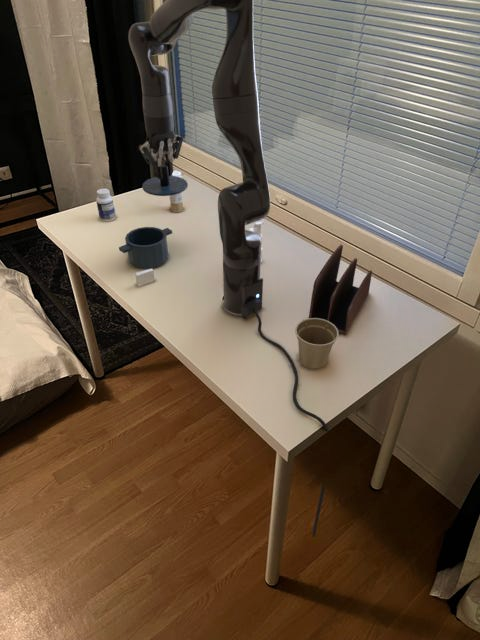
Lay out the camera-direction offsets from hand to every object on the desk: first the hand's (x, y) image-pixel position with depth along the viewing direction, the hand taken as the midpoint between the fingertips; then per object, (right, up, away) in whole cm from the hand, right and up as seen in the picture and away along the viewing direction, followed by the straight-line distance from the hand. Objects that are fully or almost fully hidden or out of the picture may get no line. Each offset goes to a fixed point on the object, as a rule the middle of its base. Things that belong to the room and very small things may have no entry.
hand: (164, 176), depth 138 cm
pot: (-6, -22, +10) cm, 25 cm away
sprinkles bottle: (-1, -2, +35) cm, 35 cm away
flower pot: (+38, -49, -24) cm, 67 cm away
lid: (0, -2, +2) cm, 3 cm away
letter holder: (+47, -37, -9) cm, 60 cm away
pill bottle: (-24, -6, +30) cm, 39 cm away
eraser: (-5, -30, 0) cm, 30 cm away
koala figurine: (+25, -23, +9) cm, 35 cm away
